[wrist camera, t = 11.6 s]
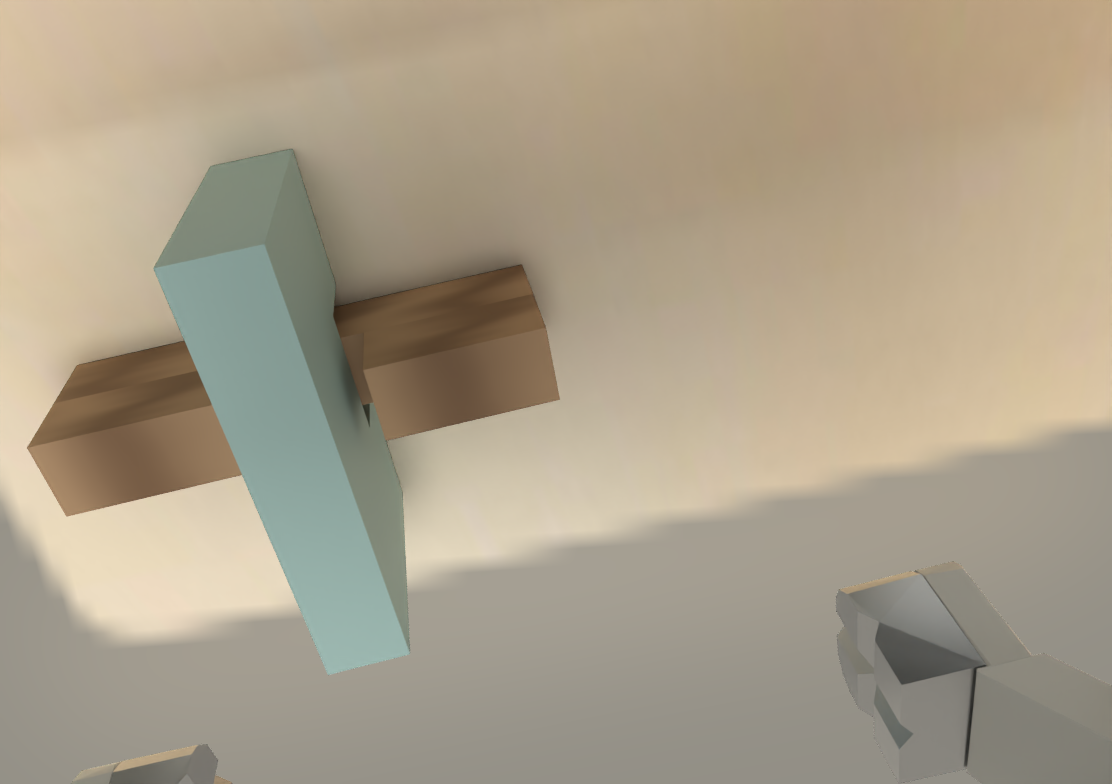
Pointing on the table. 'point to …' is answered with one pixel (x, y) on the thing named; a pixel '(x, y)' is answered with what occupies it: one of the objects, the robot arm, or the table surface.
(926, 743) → the robot arm
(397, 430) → the walnut notched block
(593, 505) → the table surface
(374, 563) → the teal plate
